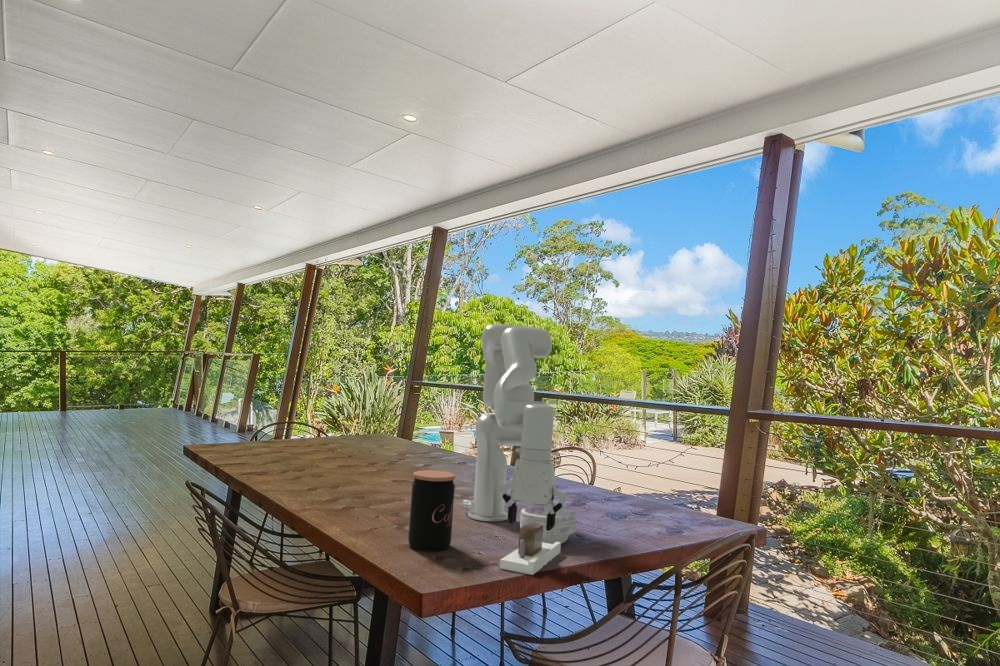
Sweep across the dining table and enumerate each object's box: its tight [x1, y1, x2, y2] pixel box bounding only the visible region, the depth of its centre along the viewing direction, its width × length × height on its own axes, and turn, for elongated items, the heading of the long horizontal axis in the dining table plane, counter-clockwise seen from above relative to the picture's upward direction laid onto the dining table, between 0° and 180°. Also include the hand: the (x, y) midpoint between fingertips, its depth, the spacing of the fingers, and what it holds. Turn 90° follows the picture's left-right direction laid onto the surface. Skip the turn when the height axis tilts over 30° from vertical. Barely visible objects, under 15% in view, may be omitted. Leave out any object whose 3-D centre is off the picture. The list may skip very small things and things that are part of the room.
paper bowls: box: [519, 505, 577, 545], centre depth 169 cm, size 15×15×8 cm
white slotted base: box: [499, 539, 562, 576], centre depth 149 cm, size 8×20×6 cm, turn 156°
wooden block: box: [517, 523, 543, 556], centre depth 150 cm, size 4×7×6 cm, turn 157°
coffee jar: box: [407, 469, 456, 552], centre depth 157 cm, size 11×11×18 cm
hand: (530, 525), depth 151 cm, fingers open, 9 cm apart
